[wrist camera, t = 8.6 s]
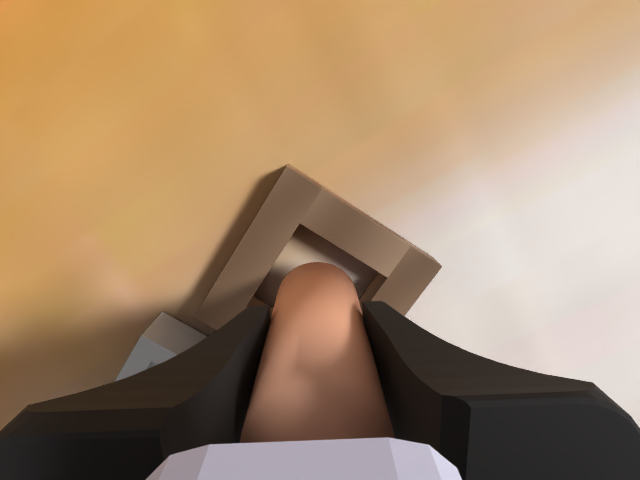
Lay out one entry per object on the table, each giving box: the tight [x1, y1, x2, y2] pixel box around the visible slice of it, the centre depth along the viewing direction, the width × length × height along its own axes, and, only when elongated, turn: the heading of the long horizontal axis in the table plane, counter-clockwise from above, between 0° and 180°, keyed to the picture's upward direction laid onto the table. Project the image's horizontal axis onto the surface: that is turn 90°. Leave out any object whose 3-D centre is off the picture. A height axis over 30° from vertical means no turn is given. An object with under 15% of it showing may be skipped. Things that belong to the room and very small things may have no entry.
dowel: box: [240, 262, 395, 443], centre depth 11 cm, size 3×3×7 cm
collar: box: [194, 164, 442, 330], centre depth 15 cm, size 7×7×1 cm
